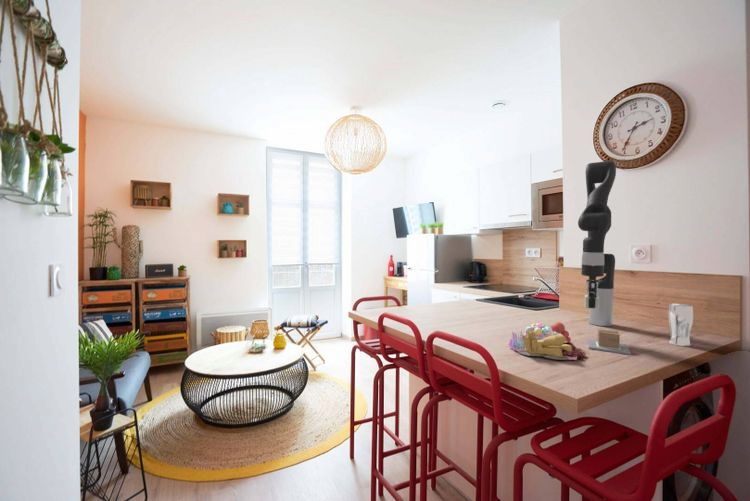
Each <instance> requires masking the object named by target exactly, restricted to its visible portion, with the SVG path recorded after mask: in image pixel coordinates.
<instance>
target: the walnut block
mask: <svg viewBox="0 0 750 501" xmlns="http://www.w3.org/2000/svg"><path fill="white" fill-rule="evenodd" d="M620 336H621V335H620V333H619V331H618V330H614V329H613V330H611V329H603V328H597V341H598V345H599V346H602V347H609V348H616V349H619V343H620Z"/></svg>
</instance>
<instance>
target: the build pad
mask: <svg viewBox="0 0 750 501" xmlns="http://www.w3.org/2000/svg"><path fill="white" fill-rule="evenodd" d="M587 343H588V344H587V345H588V349H589V350H595V351H596V350H597V351H603V352H609V353H616V354H622V355H629V356H630V355H632V354H631V350H630V349H629V347H628V345H627V344H625V343H620V342H619V349H616V348H609V347H602V346H599V345H598V339H597V340H596V339H591V338H589V339H587Z"/></svg>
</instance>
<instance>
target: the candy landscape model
mask: <svg viewBox="0 0 750 501" xmlns="http://www.w3.org/2000/svg"><path fill="white" fill-rule="evenodd" d="M569 336H570V333H569V331H568V330H566V327H565V325H564V324H563V323H562V322H559V321H557V322H555V323H553V324H552V325H550V326H546V325H545V324H543V323H541V322H538V323H531V325H530V326H526V328H525V330H524V334H523V333H522V331H520V334H517V333H516V332H514V331H511V338H510V339H509V341H508V347H509V349H510V350H513V352H515V351H516V352H518V353H519V354H520V355H524V356H530V357H543V358H545V359H551V360H558V361H559V360H562V361H563V360H564V361H565V360H571V361H572V360H574V361H577V360H578V359H579V360H580V359H581V360H584V357H585V358H586V357H587V355H586V352H584V351H583V350H580V349H579V348H578V347H577V346H575V344H574V343H572V342H571V341H572V338H571V337H569Z"/></svg>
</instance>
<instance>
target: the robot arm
mask: <svg viewBox="0 0 750 501" xmlns="http://www.w3.org/2000/svg"><path fill="white" fill-rule="evenodd" d="M616 175H617V166H616V163H615V162H614V161H612V160H605V161H598V162H596V161H595V162H591V163H590V162H589V163H588V164H587V165H586V166H585V183H586V194H587V195H586V197H587V198H586V199H587V202H586V206H585V208H584V210H583V211H582V213H581V214H580V215H579V217H578V219H577V220H578V222H577V225H578V229H580V230H581V231H583V232H587V237H584V238H583V240H582V241H583V242H582V255H581V276H585V277H588V279H586V281H585V282H586V292H587V295H588V297H589V308H595V299H596V297H597V296H598V297H599V309H589V308H588V309H589V312H588V313H589V315H588V323H589V324H591V325H594V326H600V327H613V322H614V321H613V317H614V290H615V289H614V282H615V267H616V257H615V254H612V253H604V251H605V248H604V247H605V240H606V239H605V238H606V236H607V234H608V232H609V231H610V229H611V227H612V211H611V209H610V207H609V206H608V200H609V196H610V194H611V192H612V188H613V185H614V182H615V180H616ZM596 184H599V185H597V187H596ZM597 277H600V278H598V279H597Z"/></svg>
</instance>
